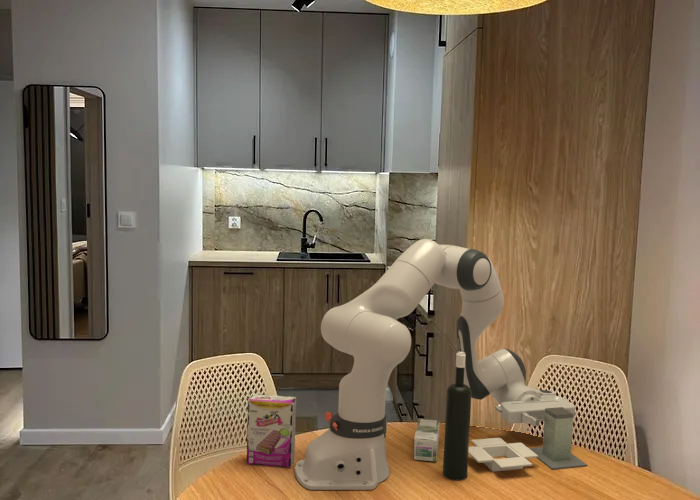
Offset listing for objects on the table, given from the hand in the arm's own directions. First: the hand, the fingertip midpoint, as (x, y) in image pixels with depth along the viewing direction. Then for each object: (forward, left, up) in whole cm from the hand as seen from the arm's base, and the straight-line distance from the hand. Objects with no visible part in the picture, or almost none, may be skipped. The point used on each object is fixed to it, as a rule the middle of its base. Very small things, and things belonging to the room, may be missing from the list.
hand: (553, 421), depth 167 cm
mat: (0, -2, -9) cm, 9 cm away
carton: (-16, -2, -9) cm, 18 cm away
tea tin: (0, -2, -8) cm, 9 cm away
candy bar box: (-72, +8, -9) cm, 73 cm away
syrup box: (-28, +15, -6) cm, 33 cm away
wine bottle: (-30, -6, -9) cm, 32 cm away
